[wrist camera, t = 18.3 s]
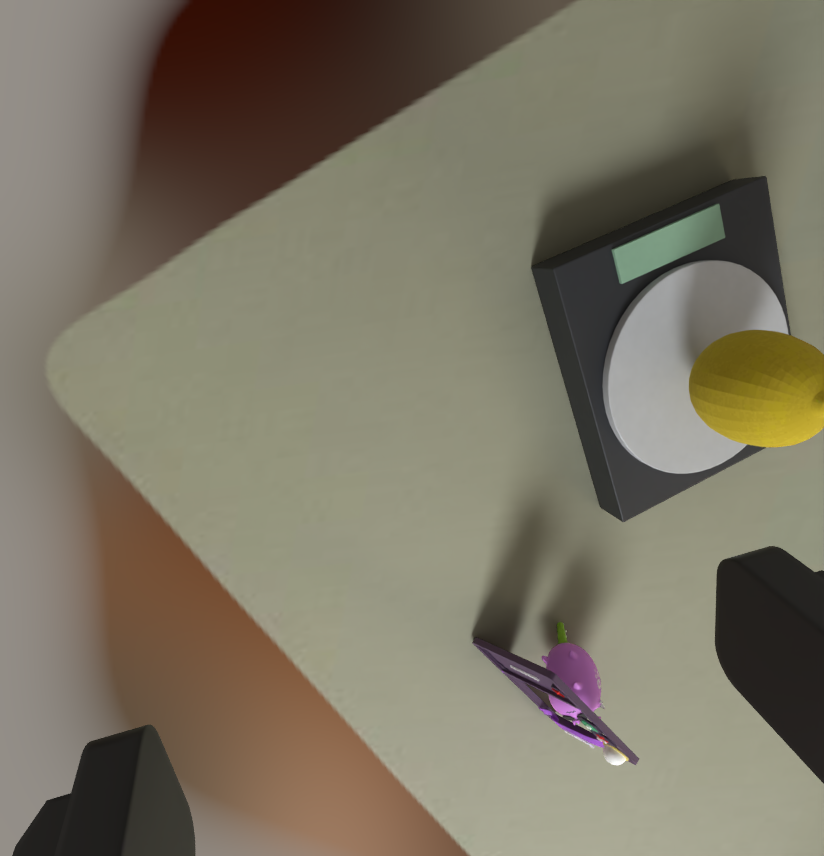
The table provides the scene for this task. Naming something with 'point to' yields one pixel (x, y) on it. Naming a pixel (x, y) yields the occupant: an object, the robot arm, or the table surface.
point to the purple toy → (564, 691)
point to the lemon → (760, 388)
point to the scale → (659, 336)
